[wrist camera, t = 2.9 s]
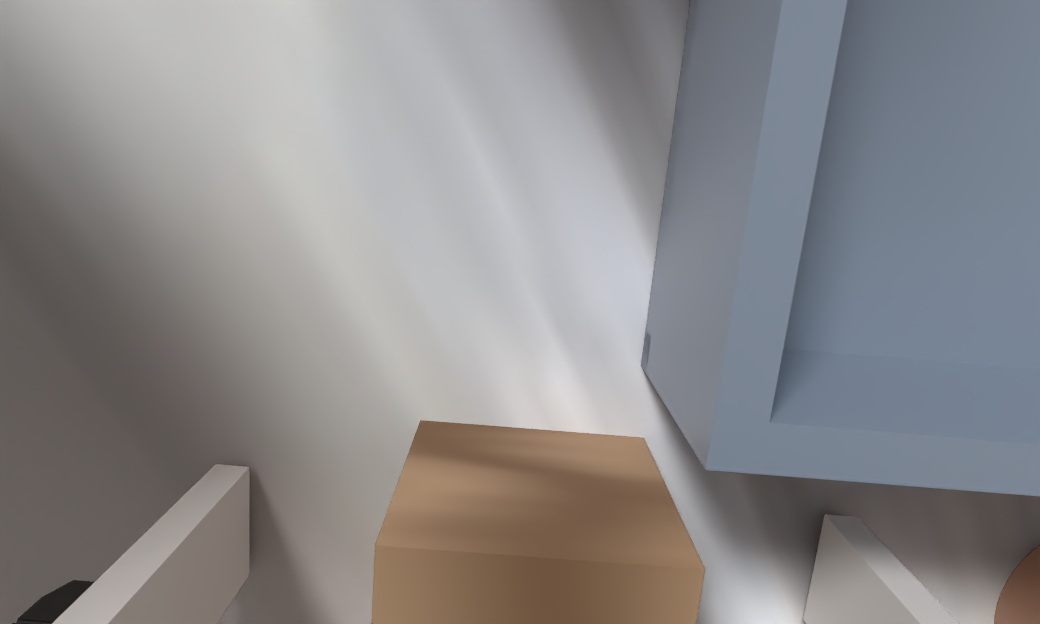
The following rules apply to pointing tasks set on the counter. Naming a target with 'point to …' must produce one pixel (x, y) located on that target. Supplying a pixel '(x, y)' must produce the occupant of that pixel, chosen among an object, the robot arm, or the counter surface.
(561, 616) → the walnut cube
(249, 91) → the counter surface
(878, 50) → the tote
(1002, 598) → the peach capsule pill
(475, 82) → the counter surface
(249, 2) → the counter surface
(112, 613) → the robot arm
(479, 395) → the counter surface
